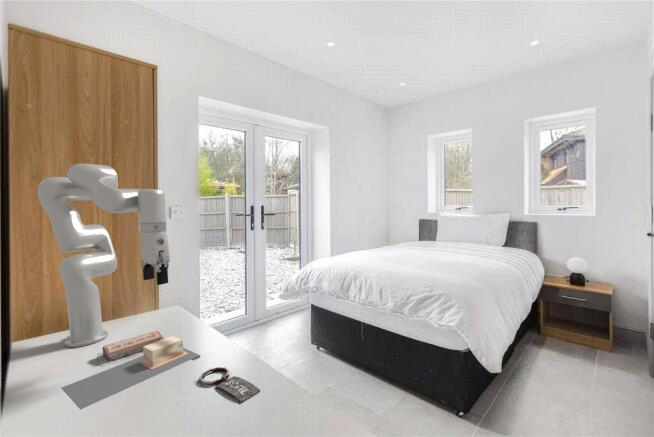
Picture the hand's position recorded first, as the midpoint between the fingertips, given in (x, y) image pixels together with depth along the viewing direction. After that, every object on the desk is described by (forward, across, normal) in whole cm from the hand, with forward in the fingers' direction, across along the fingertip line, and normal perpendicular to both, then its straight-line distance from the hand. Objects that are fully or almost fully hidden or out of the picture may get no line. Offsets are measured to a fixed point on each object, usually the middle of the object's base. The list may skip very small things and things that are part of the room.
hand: (155, 281), depth 101 cm
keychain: (+22, -36, -1) cm, 42 cm away
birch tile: (+22, -7, +2) cm, 23 cm away
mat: (+23, -8, +10) cm, 26 cm away
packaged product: (+24, +7, +5) cm, 26 cm away
